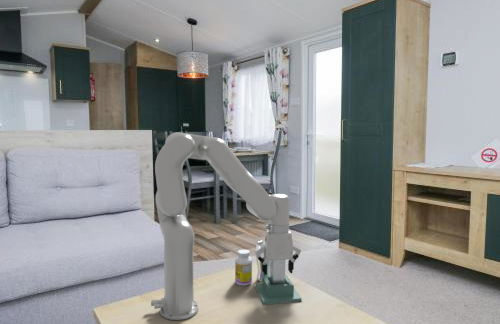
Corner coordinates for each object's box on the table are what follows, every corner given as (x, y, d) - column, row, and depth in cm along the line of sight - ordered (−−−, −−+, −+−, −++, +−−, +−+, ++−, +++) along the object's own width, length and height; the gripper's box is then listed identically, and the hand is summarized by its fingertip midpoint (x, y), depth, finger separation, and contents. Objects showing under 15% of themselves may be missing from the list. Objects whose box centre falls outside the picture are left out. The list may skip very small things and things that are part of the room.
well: (263, 304, 126) (263, 290, 125) (255, 286, 140) (255, 274, 139) (301, 300, 129) (301, 287, 128) (289, 283, 142) (290, 271, 142)
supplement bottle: (233, 279, 145) (233, 249, 144) (248, 277, 147) (249, 247, 146) (237, 287, 139) (237, 255, 137) (253, 285, 141) (254, 253, 139)
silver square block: (272, 294, 131) (273, 260, 130) (269, 288, 136) (270, 255, 134) (284, 293, 132) (285, 259, 131) (281, 287, 137) (282, 254, 135)
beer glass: (271, 283, 142) (272, 246, 141) (254, 281, 144) (254, 245, 142) (273, 276, 149) (274, 241, 147) (257, 274, 150) (257, 239, 149)
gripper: (257, 232, 126) (257, 278, 128) (304, 229, 129) (303, 275, 131) (253, 226, 133) (253, 270, 135) (297, 223, 136) (296, 267, 138)
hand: (277, 272), depth 133 cm, fingers open, 9 cm apart
